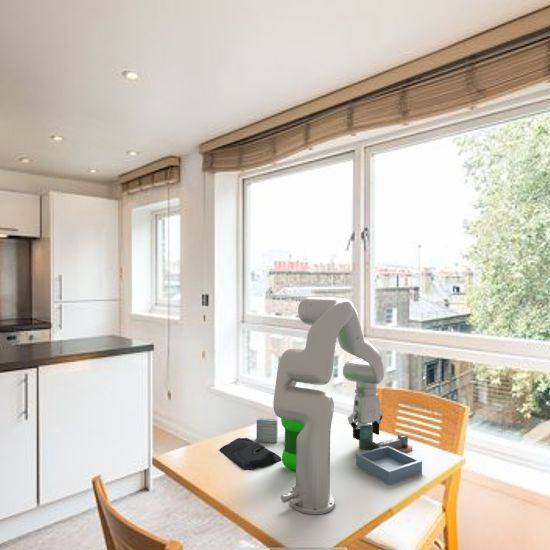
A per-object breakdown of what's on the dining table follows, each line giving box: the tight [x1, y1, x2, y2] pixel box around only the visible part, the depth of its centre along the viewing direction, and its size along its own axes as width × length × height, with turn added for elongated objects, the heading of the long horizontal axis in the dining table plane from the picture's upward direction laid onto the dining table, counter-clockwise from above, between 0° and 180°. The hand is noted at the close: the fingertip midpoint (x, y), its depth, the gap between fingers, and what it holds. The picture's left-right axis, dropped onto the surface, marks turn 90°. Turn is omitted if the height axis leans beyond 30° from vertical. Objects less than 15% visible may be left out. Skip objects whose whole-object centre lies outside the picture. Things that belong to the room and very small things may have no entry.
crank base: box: [397, 444, 413, 453], centre depth 158 cm, size 7×7×1 cm
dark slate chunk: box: [218, 437, 282, 471], centre depth 151 cm, size 15×22×5 cm
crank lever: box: [369, 433, 409, 451], centre depth 155 cm, size 16×5×4 cm, turn 121°
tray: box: [355, 446, 423, 486], centre depth 140 cm, size 15×15×4 cm
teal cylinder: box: [358, 423, 374, 451], centre depth 159 cm, size 5×5×8 cm
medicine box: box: [255, 416, 279, 444], centre depth 165 cm, size 8×4×9 cm, turn 84°
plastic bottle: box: [280, 418, 305, 473], centre depth 141 cm, size 10×10×25 cm
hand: (366, 436), depth 160 cm, fingers open, 9 cm apart
